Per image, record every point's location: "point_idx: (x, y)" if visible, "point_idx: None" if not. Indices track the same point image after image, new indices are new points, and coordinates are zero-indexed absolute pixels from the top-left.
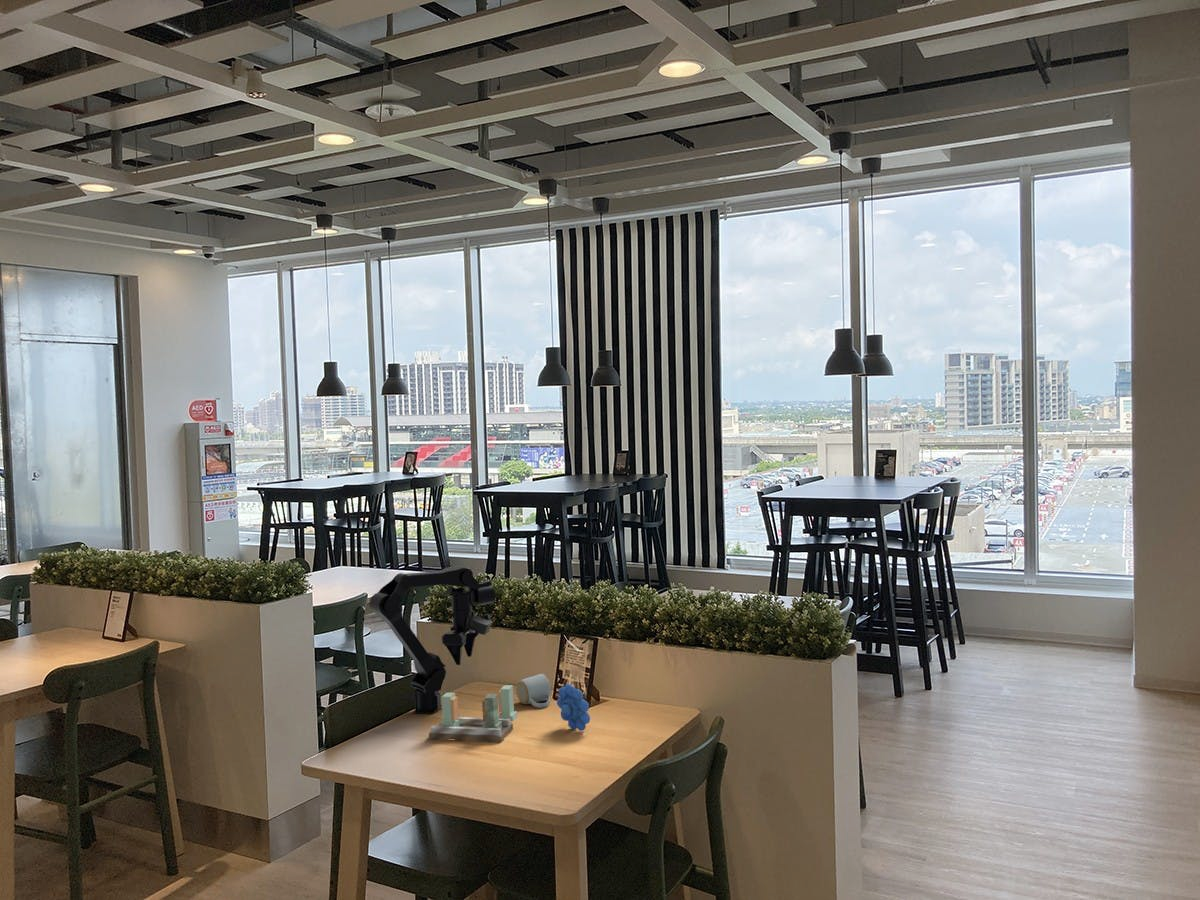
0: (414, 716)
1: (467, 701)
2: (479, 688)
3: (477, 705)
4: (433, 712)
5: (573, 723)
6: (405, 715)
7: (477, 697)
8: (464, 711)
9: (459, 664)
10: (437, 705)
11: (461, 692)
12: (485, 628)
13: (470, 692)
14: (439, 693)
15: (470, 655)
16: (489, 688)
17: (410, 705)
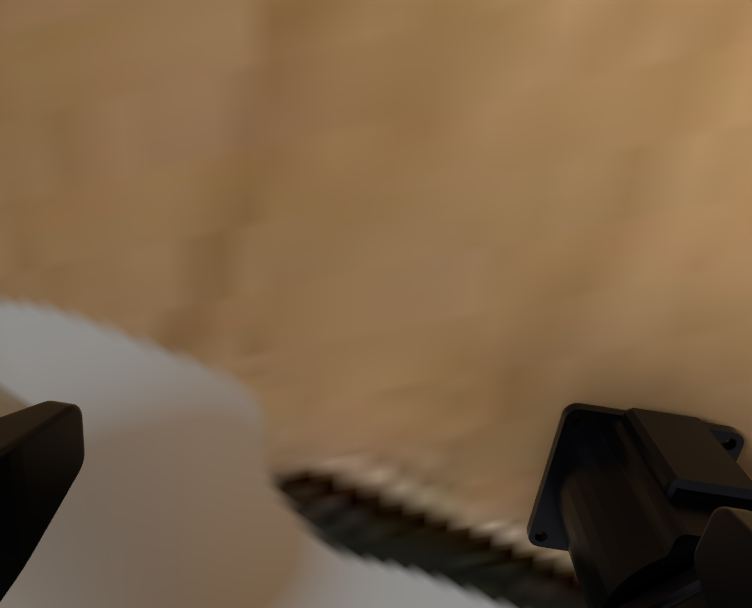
0: None
1: (428, 229)
2: (50, 198)
3: (561, 109)
4: (740, 435)
5: None
6: None
7: (313, 161)
8: (723, 197)
9: (749, 521)
10: (715, 438)
11: (179, 328)
12: None
13: (172, 255)
14: (692, 488)
15: (66, 424)
16: (33, 100)
17: (487, 596)
